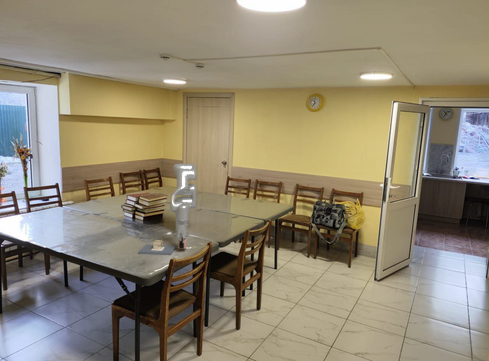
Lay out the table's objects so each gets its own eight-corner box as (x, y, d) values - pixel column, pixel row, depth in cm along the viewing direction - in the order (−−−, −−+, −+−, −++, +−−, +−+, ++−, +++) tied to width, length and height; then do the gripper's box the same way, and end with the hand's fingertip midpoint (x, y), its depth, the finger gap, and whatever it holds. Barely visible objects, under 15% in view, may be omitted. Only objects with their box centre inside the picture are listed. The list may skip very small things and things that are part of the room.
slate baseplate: (146, 246, 244) (146, 244, 244) (176, 247, 244) (176, 245, 244) (138, 253, 230) (138, 251, 229) (170, 255, 229) (170, 252, 229)
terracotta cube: (179, 245, 241) (179, 239, 240) (186, 246, 240) (186, 239, 240) (178, 248, 236) (178, 241, 235) (185, 248, 235) (185, 241, 235)
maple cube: (155, 247, 239) (155, 240, 238) (162, 247, 239) (162, 240, 238) (153, 249, 234) (153, 242, 233) (160, 249, 234) (160, 242, 233)
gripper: (180, 218, 243) (179, 242, 246) (174, 225, 227) (174, 250, 230) (190, 218, 243) (190, 242, 246) (185, 225, 226) (185, 251, 229)
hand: (182, 246), depth 238 cm, fingers closed on terracotta cube, 4 cm apart
